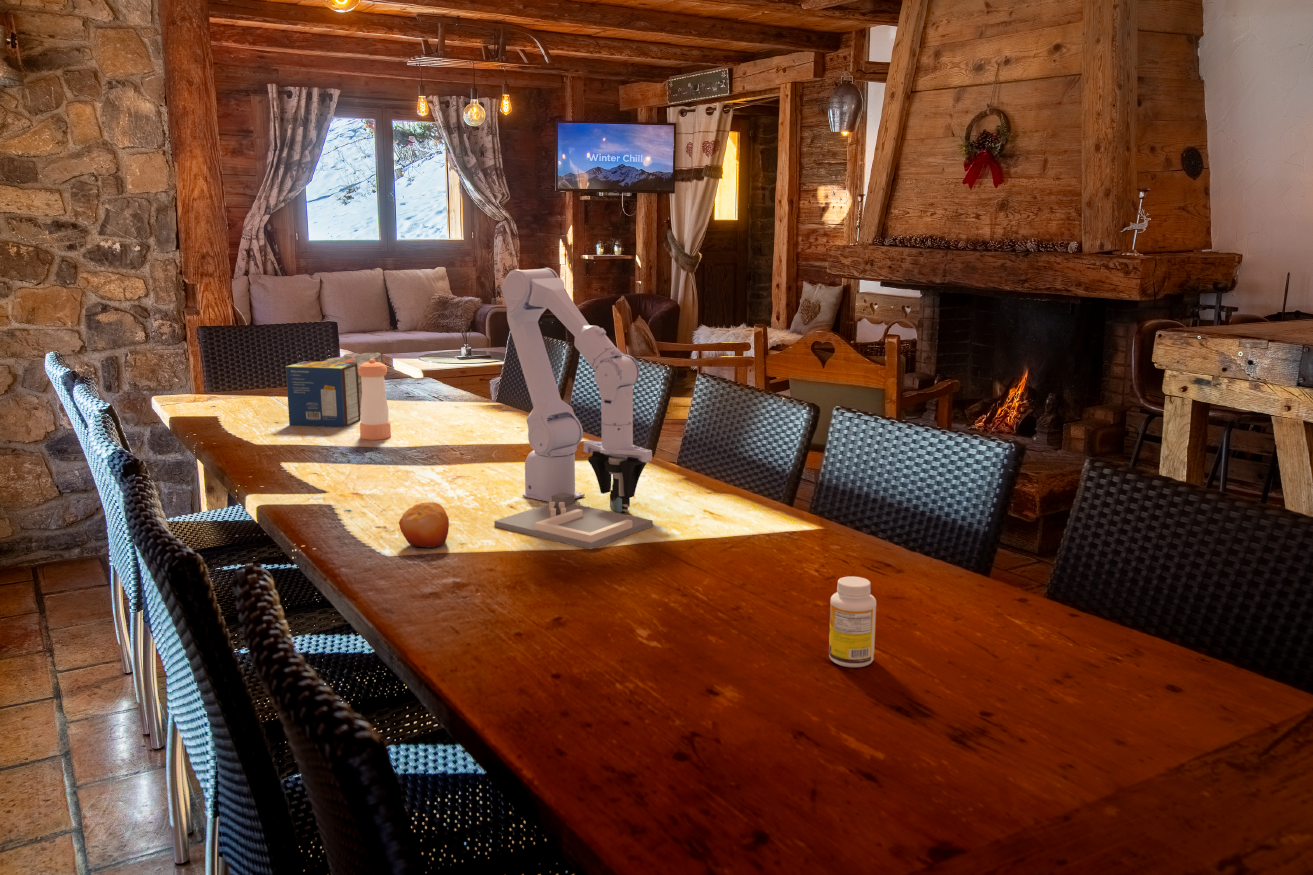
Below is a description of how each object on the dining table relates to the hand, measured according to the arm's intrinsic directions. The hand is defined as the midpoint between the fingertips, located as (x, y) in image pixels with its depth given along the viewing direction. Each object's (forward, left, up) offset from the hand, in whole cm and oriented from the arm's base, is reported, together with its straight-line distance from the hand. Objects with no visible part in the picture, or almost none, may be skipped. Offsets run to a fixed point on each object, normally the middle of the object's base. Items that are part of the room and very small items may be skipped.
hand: (617, 494), depth 201 cm
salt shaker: (-89, +17, -3) cm, 91 cm away
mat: (0, -13, -3) cm, 13 cm away
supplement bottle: (+66, -37, -3) cm, 76 cm away
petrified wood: (-130, +41, -3) cm, 136 cm away
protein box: (-114, +21, -3) cm, 116 cm away
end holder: (+5, -15, -2) cm, 16 cm away
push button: (+1, 0, -3) cm, 3 cm away
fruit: (-12, -36, -3) cm, 38 cm away
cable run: (-6, -9, -2) cm, 11 cm away
